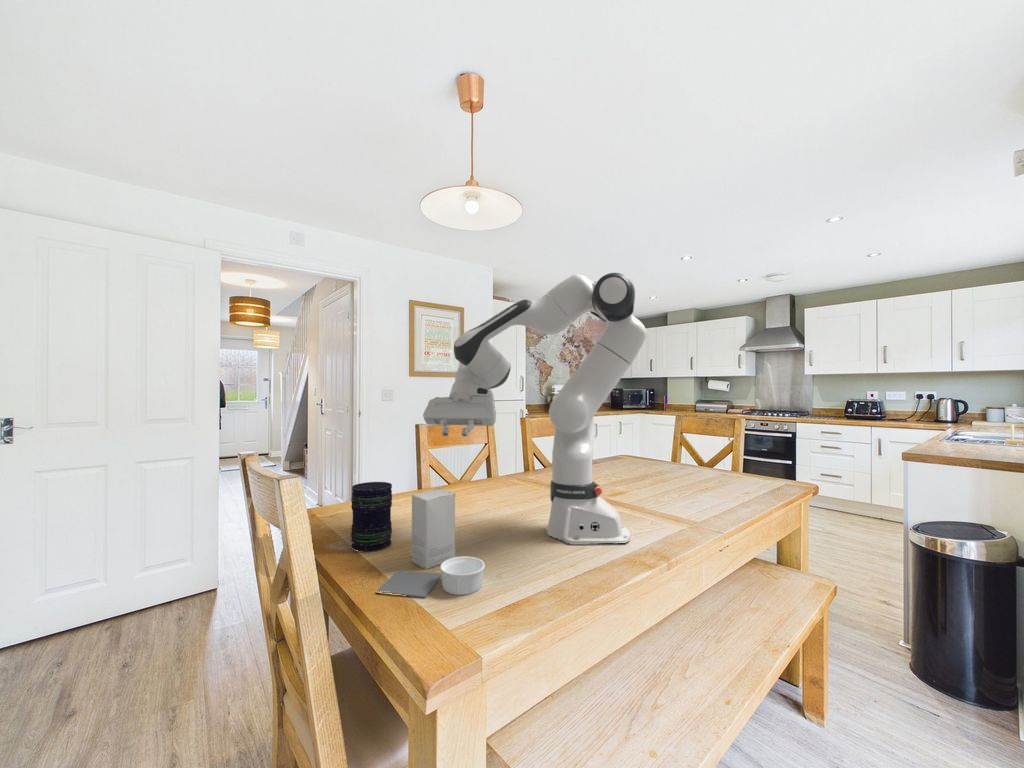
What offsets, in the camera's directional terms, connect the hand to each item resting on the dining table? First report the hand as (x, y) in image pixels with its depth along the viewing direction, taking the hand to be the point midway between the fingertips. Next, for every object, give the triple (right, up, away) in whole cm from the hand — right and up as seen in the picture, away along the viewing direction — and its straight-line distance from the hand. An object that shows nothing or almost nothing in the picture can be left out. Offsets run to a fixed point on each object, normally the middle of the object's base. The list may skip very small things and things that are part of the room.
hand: (454, 434), depth 112 cm
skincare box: (-3, -27, -16) cm, 32 cm away
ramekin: (+5, -27, -28) cm, 39 cm away
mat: (-5, -27, -27) cm, 39 cm away
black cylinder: (-20, -27, -6) cm, 35 cm away
